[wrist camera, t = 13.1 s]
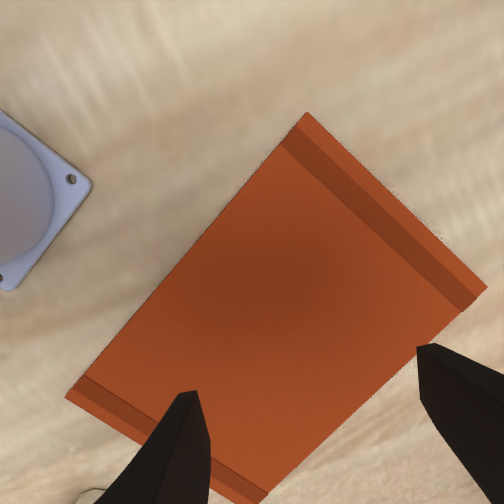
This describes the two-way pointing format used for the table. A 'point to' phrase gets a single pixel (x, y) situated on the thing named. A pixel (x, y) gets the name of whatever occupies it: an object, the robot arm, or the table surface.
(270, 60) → the table surface
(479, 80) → the table surface
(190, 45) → the table surface
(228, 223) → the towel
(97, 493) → the milkshake
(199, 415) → the robot arm
